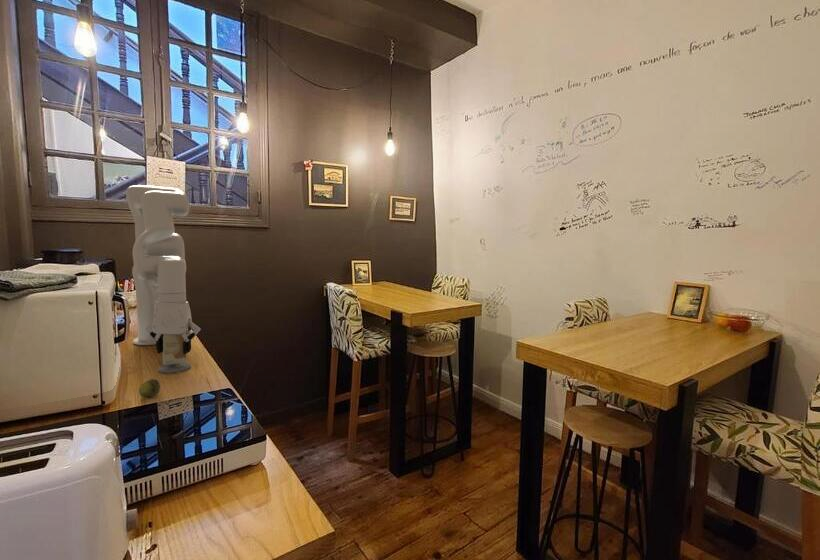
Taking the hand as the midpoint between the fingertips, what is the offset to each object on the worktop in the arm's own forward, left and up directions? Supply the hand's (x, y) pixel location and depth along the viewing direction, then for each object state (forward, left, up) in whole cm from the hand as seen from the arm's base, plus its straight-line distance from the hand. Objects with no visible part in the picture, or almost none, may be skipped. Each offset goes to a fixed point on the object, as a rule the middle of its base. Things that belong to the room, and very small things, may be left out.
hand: (174, 352), depth 128 cm
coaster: (0, 0, -5) cm, 5 cm away
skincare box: (0, 0, -4) cm, 4 cm away
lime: (+22, +5, -6) cm, 23 cm away
